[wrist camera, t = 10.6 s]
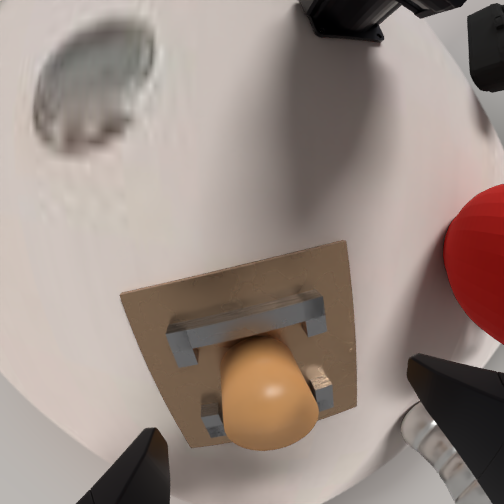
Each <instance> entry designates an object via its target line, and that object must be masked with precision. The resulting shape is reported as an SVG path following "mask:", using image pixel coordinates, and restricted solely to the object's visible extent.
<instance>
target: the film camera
mask: <svg viewBox="0 0 504 504" xmlns="http://www.w3.org/2000/svg"><path fill="white" fill-rule="evenodd" d="M467 28H468V46H469V67H470V75H471V78H472V80H473V82H474V83H475V85H476V86H477V87H478V88H479V89H480V90H482V91H490V92H497V91H502V90H504V5H500V4H498V3H496V4H491V5H490V6H488V7H486V8H484V9H482V10H480V11H477V12H475V13H474V14H472V15H469V16H468V18H467Z"/></svg>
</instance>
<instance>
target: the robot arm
mask: <svg viewBox="0 0 504 504" xmlns="http://www.w3.org/2000/svg"><path fill="white" fill-rule="evenodd" d="M466 1H467V0H300V2H301V5H302V7H303V9H304V12H305V14H306V15H307V16H308V17H309V20H310V22H311V25H312V27H313V30H314V32H315V34H316V35H317V36H319V37H329V38H345V39H357V40H366V41H374V42H381V41H383V40H384V36H383V33H382V31H381V29H380V27H379V24H380V23H382V22H383V21H384V20H385V19H386V18H387V17H388V16H390V15H391V14H392V13H393V12H394V11H395V10H397V9H398V8H399V7H400V6H401V5H403V6H404V7H406V8H407V9H409V10H410V11H412V12H413V13H414V15H416V16H417V17H419V18H420V19H421V18H424V17H427V16H431V15H434V14H437V13H441V12H444V11H448V10H452V9H454V8H458V7H461V6H462V5H463V4H464V2H466ZM319 30H321V31H323V32H320V31H319ZM407 378H408V381H409V382H410V384H411V386H412V387H413V389H414V391H415V392H416V394H417V396H418V397H419V399H420V401H421V403H422V404H423V406H424V408H425V409H426V411H427V412H428V413H429V415H430V416H431V417H432V419H433V420H434V421H435V423H436V424H437V425H438V427H439V428H440V429H441V431H442V432H443V433H444V435H445V436H446V437H447V439H448V440H449V442H450V443H451V444H452V446H453V447H454V448H455V450H456V451H457V453H458V454H459V455H460V457H461V458H462V460H463V461H464V462H465V464H466V465H467V467H468V468H469V470H470V471H471V472H472V474H473V475H474V477H475V478H476V480H477V482H478V483H479V484H480V486H481V487H482V489H483V490H484V492H485V493H486V495H487V496H488V498H489V499H490V501H491V503H492V504H504V373H501V372H496V371H492V370H487V369H482V368H478V367H473V366H469V365H465V364H460V363H456V362H452V361H448V360H444V359H440V358H436V357H432V356H428V355H424V354H420V353H418V354H415V355H413V356H411V357H410V358H409V360H408V368H407ZM76 504H170V471H169V458H168V445H167V442H166V440H165V439H164V438H163V436H162V435H161V433H160V432H159V430H158V429H157V428H145V429H144V430H143V431H142V432H141V433H140V435H139V436H138V437H137V438H136V439H135V440H134V441H133V442H132V444H131V445H130V446H129V447H128V448H127V449H126V450H125V452H124V453H123V454H122V455H121V456H120V457H119V458H118V459H117V460H116V462H115V463H114V464H113V465H112V466H111V467H110V468H109V469H108V471H107V472H106V473H105V474H104V475H103V476H102V477H101V478H100V479H99V480H98V481H97V482H96V483H95V485H94V486H93V487H92V488H91V490H89V491H88V492H87V493H86V494H85V495H84V496H83V497H82V498H81V499H80V500H79V501H78V502H77V503H76Z"/></svg>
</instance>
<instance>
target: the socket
mask: <svg viewBox="0 0 504 504" xmlns="http://www.w3.org/2000/svg"><path fill="white" fill-rule="evenodd" d="M120 298H121V301H122V303H123V306H124V309H125V312H126V315H127V317H128V320H129V322H130V325H131V328H132V330H133V333H134V335H135V338H136V340H137V343H138V345H139V347H140V350H141V352H142V354H143V357H144V359H145V361H146V363H147V366H148V368H149V370H150V372H151V374H152V377H153V379H154V381H155V383H156V385H157V387H158V389H159V391H160V393H161V395H162V397H163V399H164V401H165V403H166V405H167V407H168V408H169V410H170V412H171V414H172V416H173V418H174V420H175V421H176V423H177V425H178V427H179V428H180V430H181V432H182V434H183V435H184V437H185V439H186V440H187V442H188V444H189V445H190V447H191V448H195V447H204V446H211V445H218V444H224V443H230V442H232V441H231V440H230V439H229V438H228V437H227V435H226V433H225V430H224V422H223V408H222V393H221V375H220V365H221V361H222V359H223V357H224V355H225V354H226V352H227V351H228V350H229V349H230V348H231V347H232V346H234V345H235V344H237V343H239V342H240V341H243V340H245V339H249V338H253V337H269V338H273V339H276V340H278V341H280V342H282V343H283V344H285V345H286V346H287V347H288V348H289V350H290V351H291V353H292V355H293V357H294V359H295V361H296V363H297V365H298V367H299V369H300V371H301V373H302V375H303V377H304V379H305V381H306V383H307V385H308V387H309V389H310V391H311V393H312V395H313V397H314V399H315V401H316V403H317V405H318V408H319V415H318V419H317V421H318V420H321V419H324V418H327V417H329V416H332V415H335V414H338V413H341V412H343V411H346V410H348V409H351V408H354V407H356V406H357V369H356V341H355V323H354V309H353V297H352V287H351V277H350V268H349V260H348V252H347V244H346V241H344V240H341V241H337V242H333V243H329V244H325V245H321V246H317V247H313V248H309V249H305V250H301V251H297V252H293V253H289V254H285V255H281V256H276V257H272V258H268V259H264V260H260V261H256V262H252V263H247V264H243V265H239V266H235V267H231V268H226V269H222V270H218V271H214V272H210V273H205V274H201V275H197V276H192V277H188V278H184V279H180V280H175V281H171V282H167V283H162V284H158V285H154V286H149V287H145V288H141V289H136V290H132V291H127V292H123V293H121V294H120Z"/></svg>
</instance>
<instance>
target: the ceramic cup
mask: <svg viewBox="0 0 504 504" xmlns="http://www.w3.org/2000/svg"><path fill="white" fill-rule="evenodd" d="M443 259H444V265H445V269H446V271H447V275H448V280H449V283H450V285H451V288H452V291H453V293H454V296H455V298H456V300H457V301H458V303H459V304H460V306H461V307H462V309H463V310H464V311H465V313H466V314H467V315H468V316H469V318H470V319H471V320H472V321H473V322H474V323H475V324H476V325H478V326H479V327H480V328H481V329H482V330H484V331H485V332H486V333H488V334H489V335H490V336H492V337H493V338H494V339H496V340H497V341H499V342H500V343H502V344H503V345H504V184H501V185H498V186H494V187H492V188H489V189H487V190H485V191H483V192H481V193H479V194H478V195H476V196H475V197H474V198H472V199H471V200H470V201H469V202H468V203H467V204H466V205H465V206H464V207H463V208H462V210H461V211H460V212H459V214H458V215H457V216H456V217H455V218H454V219H453V221H452V222H451V224H450V226H449V228H448V230H447V233H446V236H445V241H444V247H443Z"/></svg>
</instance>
